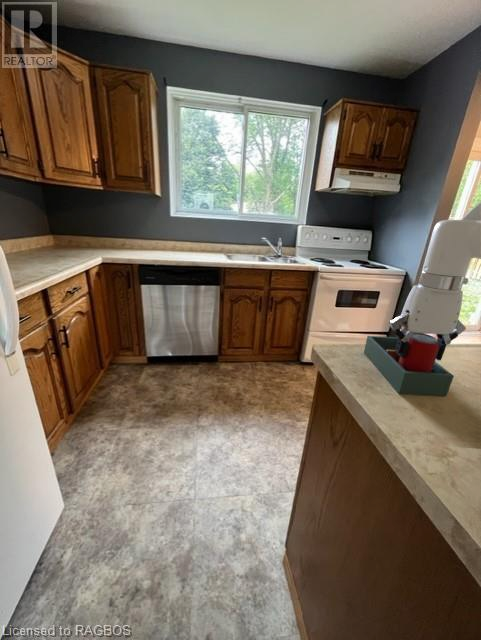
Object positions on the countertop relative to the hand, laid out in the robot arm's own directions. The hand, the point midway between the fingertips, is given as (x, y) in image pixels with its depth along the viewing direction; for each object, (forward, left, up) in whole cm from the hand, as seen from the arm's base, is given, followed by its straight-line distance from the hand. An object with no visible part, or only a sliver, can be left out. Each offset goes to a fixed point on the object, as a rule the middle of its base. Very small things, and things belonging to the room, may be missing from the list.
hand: (417, 356), depth 63 cm
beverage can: (0, 0, -7) cm, 7 cm away
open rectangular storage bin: (0, -5, -7) cm, 9 cm away
